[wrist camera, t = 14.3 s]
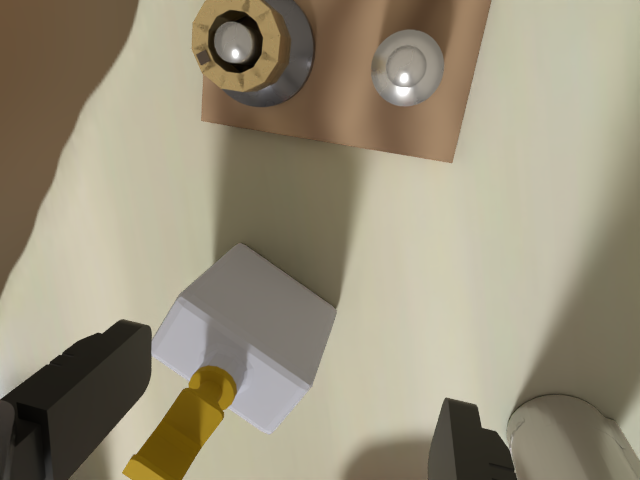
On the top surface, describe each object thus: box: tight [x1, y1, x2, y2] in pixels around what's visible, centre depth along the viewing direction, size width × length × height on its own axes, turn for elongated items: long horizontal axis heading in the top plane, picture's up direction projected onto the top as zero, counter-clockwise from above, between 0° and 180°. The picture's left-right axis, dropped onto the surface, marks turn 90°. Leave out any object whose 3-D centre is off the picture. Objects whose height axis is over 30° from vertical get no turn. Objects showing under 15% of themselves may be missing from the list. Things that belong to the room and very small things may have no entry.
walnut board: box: [201, 0, 491, 163], centre depth 37 cm, size 22×13×2 cm, turn 82°
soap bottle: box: [122, 243, 337, 480], centre depth 35 cm, size 12×7×23 cm, turn 57°
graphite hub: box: [214, 0, 315, 107], centre depth 34 cm, size 9×9×6 cm
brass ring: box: [192, 0, 292, 92], centre depth 33 cm, size 6×6×3 cm
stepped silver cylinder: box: [371, 30, 444, 106], centre depth 32 cm, size 5×5×6 cm
